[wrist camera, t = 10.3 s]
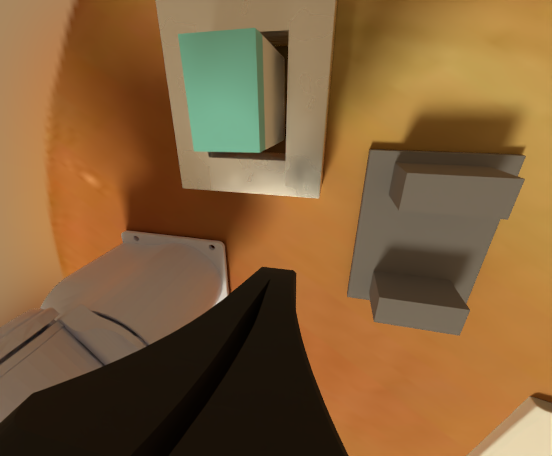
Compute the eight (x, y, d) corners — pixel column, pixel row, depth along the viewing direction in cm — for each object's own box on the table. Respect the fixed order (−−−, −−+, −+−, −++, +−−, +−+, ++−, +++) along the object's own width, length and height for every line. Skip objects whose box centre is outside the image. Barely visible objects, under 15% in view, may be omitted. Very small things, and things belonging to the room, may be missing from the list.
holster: (347, 292, 20) (349, 325, 17) (369, 149, 16) (377, 158, 13) (459, 308, 19) (483, 347, 16) (519, 154, 14) (571, 166, 11)
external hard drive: (635, 423, 20) (535, 490, 26) (524, 388, 21) (451, 460, 27) (658, 447, 19) (547, 513, 24) (538, 408, 20) (457, 480, 25)
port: (204, 177, 19) (182, 188, 16) (186, 8, 15) (153, -15, 12) (321, 185, 17) (319, 198, 15) (337, -3, 13) (338, -33, 11)
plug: (237, 139, 17) (193, 151, 12) (232, 61, 15) (177, 34, 10) (284, 140, 17) (259, 152, 11) (284, 58, 15) (255, 28, 10)
